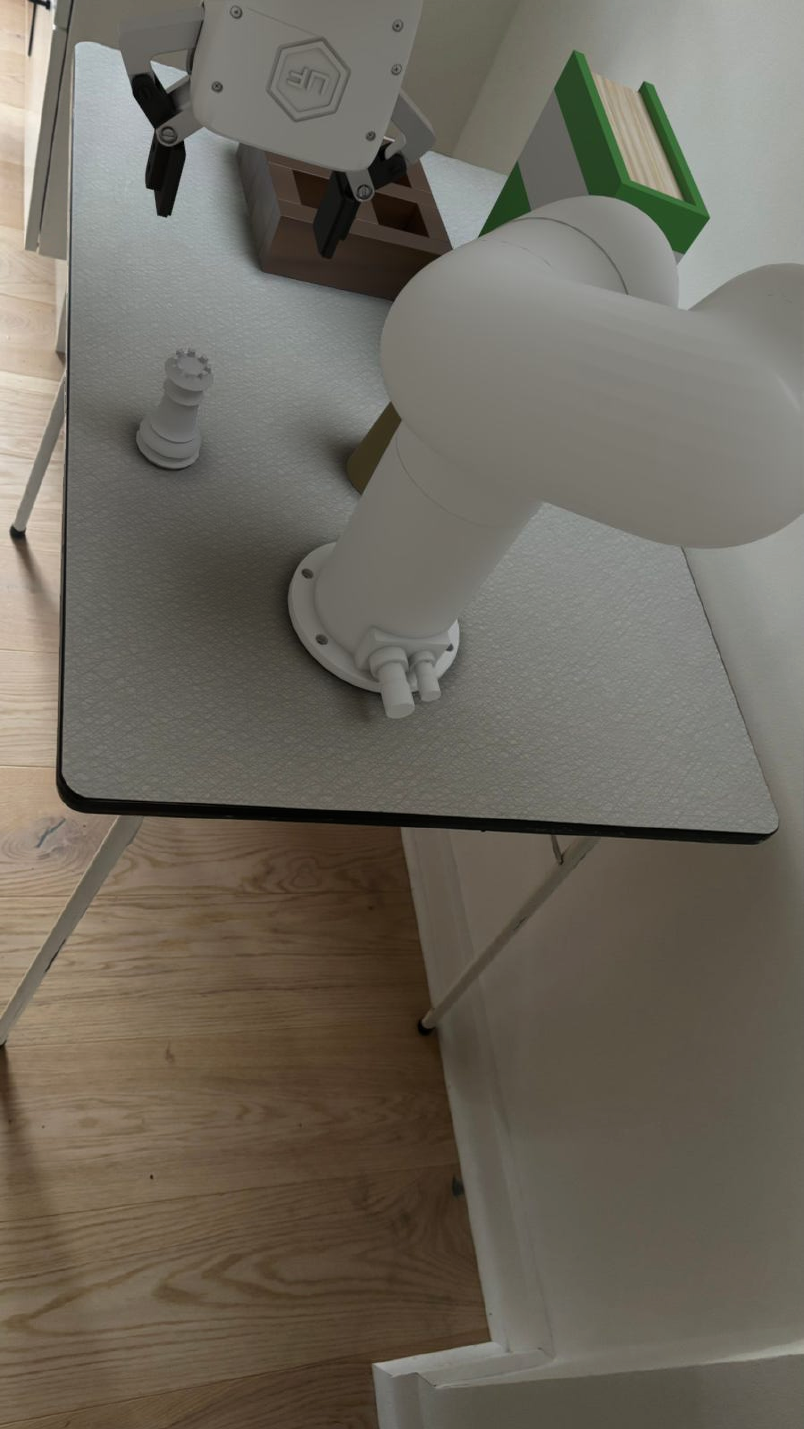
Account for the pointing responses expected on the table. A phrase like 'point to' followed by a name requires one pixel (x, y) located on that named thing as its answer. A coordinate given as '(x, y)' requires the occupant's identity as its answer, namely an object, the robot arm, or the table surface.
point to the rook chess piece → (176, 413)
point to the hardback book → (604, 156)
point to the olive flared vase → (372, 448)
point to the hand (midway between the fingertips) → (243, 223)
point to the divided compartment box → (379, 243)
